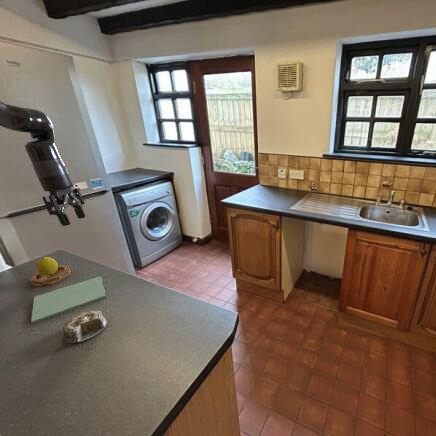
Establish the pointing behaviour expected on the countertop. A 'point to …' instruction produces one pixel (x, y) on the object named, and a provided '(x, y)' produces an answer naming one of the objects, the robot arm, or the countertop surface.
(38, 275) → the holder
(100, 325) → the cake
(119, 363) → the countertop surface
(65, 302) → the mat
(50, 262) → the lemon
